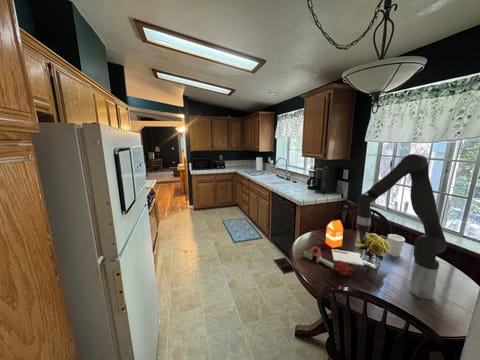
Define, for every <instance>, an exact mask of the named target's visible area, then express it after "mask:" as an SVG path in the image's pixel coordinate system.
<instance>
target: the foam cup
mask: <svg viewBox="0 0 480 360" xmlns="http://www.w3.org/2000/svg"><path fill="white" fill-rule="evenodd" d="M405 242H406V239H405V237H403V236H401V235H399V234H395V233H394V234H392V233H390V234H387V247H388V246H389V252H388V251H387V253H388V254H389V255H390V256H392V257H396V258H397V257H400V255H401V252H402V250H403V248H404V247H403V246H404V245H405Z"/></svg>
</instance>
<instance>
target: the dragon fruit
mask: <svg viewBox="0 0 480 360" xmlns="http://www.w3.org/2000/svg"><path fill="white" fill-rule="evenodd" d="M333 270H335V271H337V272H338V273H339V275H340V276H342V275H343V276H344V277H350V276H351V275H353V274H354V273H356V271H355V268H354V267H351V266H350V264H349V263H345V262H342V261H340V260H339V261H334V268H333Z"/></svg>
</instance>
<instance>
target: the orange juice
mask: <svg viewBox="0 0 480 360" xmlns="http://www.w3.org/2000/svg"><path fill="white" fill-rule="evenodd" d="M325 232H326V233H325V244H326V245H328V246H329V247H330V248H331V249H335V248H338V247H343V246H342V245H343V236H344V235H343V234H344V227H343V224H342V221H341V220H340V219H337V220H332V221H330V222H329V223H328V224H327V226H326V231H325Z"/></svg>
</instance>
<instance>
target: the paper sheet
mask: <svg viewBox="0 0 480 360" xmlns="http://www.w3.org/2000/svg"><path fill="white" fill-rule="evenodd" d="M331 254H332V259H333V260H332V261H333V262H337V261H339V260H340V261H342V262H345V263H346V264H349V265H350V264H351V265H356V266H361V267H364V266H365V264H364V261H363V262H361V261H359V258H360V256H361V254H360V252H353V251H347V250H339V249H335V248H331Z"/></svg>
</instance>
